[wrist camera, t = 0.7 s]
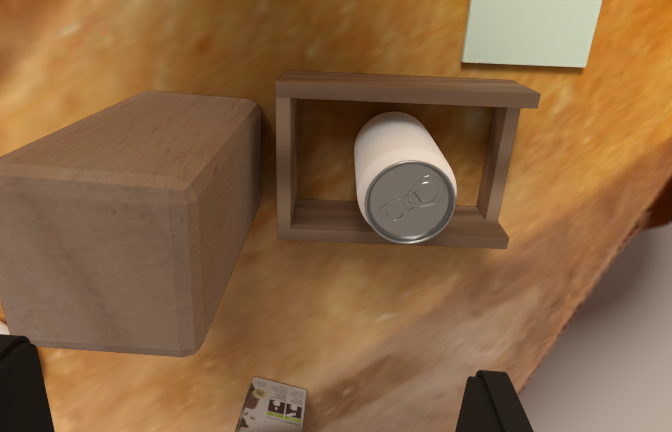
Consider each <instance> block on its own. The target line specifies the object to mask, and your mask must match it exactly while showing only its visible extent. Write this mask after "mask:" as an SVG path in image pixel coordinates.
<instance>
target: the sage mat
mask: <svg viewBox="0 0 672 432" xmlns="http://www.w3.org/2000/svg"><path fill="white" fill-rule="evenodd" d="M601 4H602V0H470V1H469V8H468V15H467V22H466V28H465V35H464V42H463V49H462V56H461V62H468V63H492V64H515V65H538V66H562V67H586V63H587V59H588V55H589V51H590V47H591V43H592V39H593V35H594V31H595V27H596V23H597V20H598V16H599V12H600V8H601Z"/></svg>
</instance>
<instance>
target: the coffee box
mask: <svg viewBox="0 0 672 432" xmlns="http://www.w3.org/2000/svg"><path fill="white" fill-rule="evenodd" d="M306 394H307V391H306V390H304V389H301V388H297V387H293V386H289V385H285V384H281V383H278V382H274V381H270V380H266V379H262V378H259V377H254V378H252V381H251V384H250V386H249V389H248V393H247V396H246V399H245V402H244V405H243V408H242V411H241V414H240V417H239V420H238V423H237V426H236V429H235V432H302V431H303V421H304V411H305V403H306Z"/></svg>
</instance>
